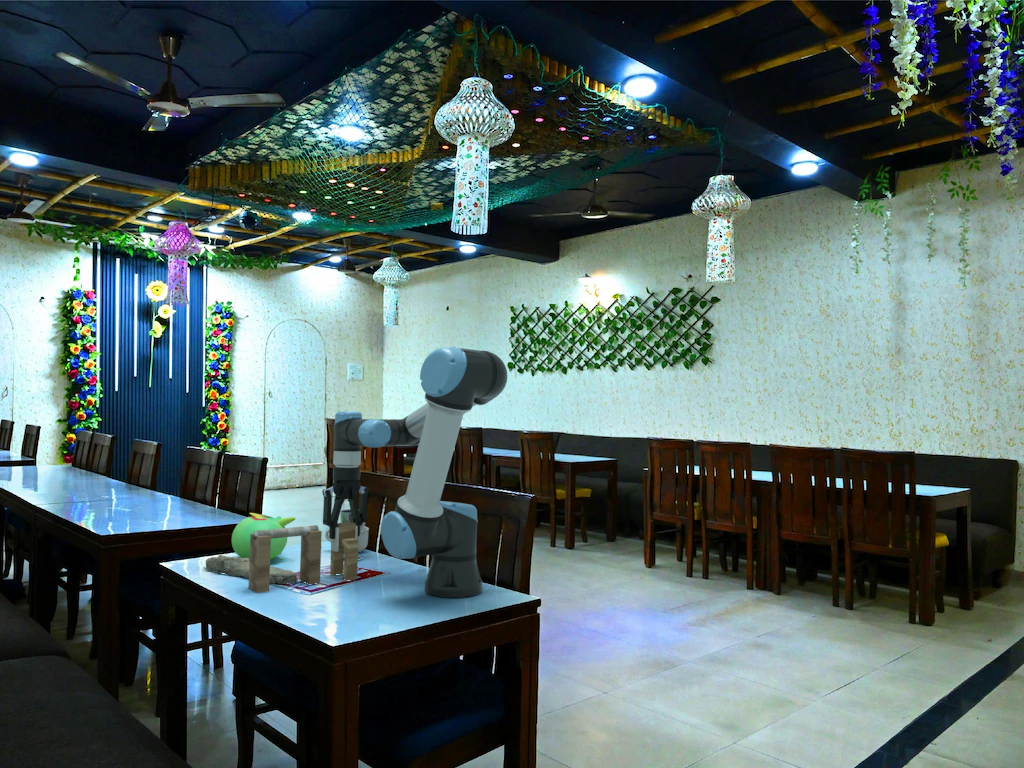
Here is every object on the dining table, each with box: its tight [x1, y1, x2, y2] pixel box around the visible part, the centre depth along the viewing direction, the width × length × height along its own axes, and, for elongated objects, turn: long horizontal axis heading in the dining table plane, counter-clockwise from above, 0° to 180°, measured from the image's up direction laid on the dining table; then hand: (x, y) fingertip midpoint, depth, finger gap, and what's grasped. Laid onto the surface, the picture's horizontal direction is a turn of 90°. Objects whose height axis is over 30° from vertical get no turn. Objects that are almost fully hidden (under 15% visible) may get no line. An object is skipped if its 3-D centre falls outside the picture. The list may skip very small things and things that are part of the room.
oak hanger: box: [329, 522, 359, 581], centre depth 201 cm, size 10×5×15 cm, turn 41°
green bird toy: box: [231, 512, 296, 561], centre depth 220 cm, size 18×17×15 cm
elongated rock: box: [205, 554, 298, 585], centre depth 201 cm, size 35×5×10 cm
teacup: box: [324, 525, 370, 554], centre depth 237 cm, size 14×11×8 cm
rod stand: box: [248, 524, 323, 594], centre depth 190 cm, size 6×17×15 cm, turn 131°
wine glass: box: [339, 508, 366, 559], centre depth 226 cm, size 8×8×15 cm
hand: (344, 549), depth 201 cm, fingers closed on oak hanger, 5 cm apart
